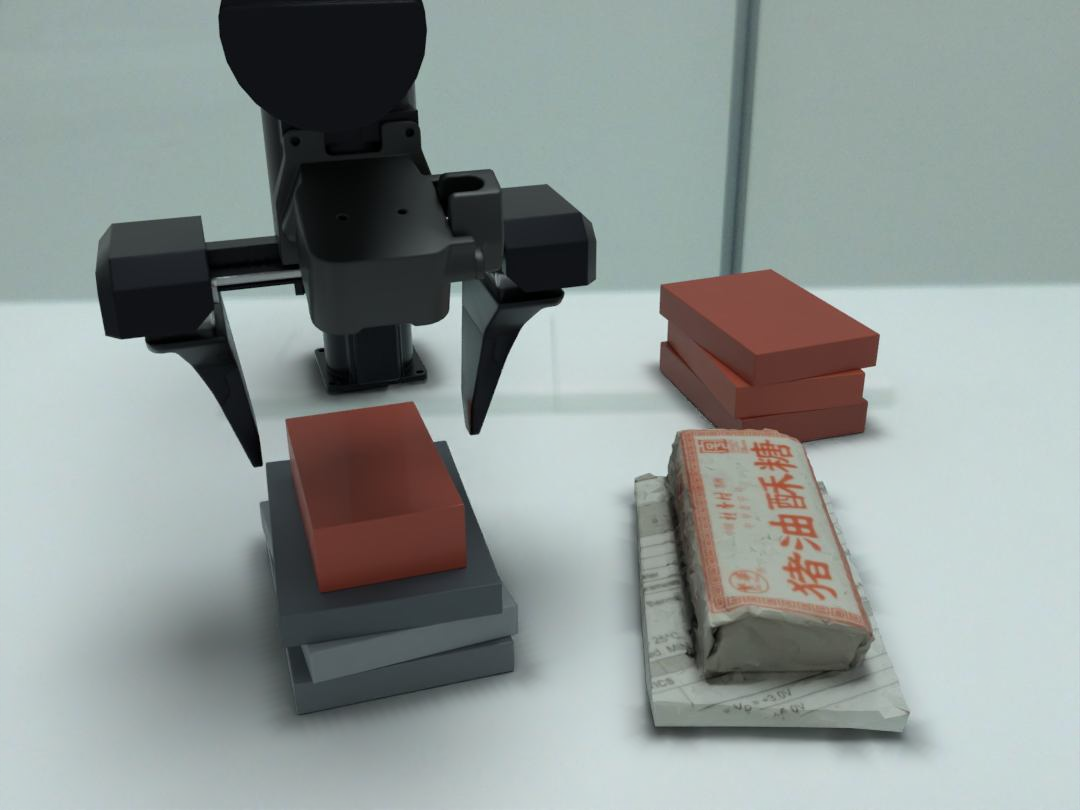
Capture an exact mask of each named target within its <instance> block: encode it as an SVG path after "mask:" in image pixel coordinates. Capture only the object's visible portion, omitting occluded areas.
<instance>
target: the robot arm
mask: <svg viewBox="0 0 1080 810" xmlns="http://www.w3.org/2000/svg"><path fill="white" fill-rule="evenodd" d="M217 15H218V16H217V19H218V35H219V40H220V43H221V47H222V50H223V51H222V52H223V55H224V58H225V62H226V64H227V65H228V68H229V69H230V71H231V73H232V75H233V76H234V78H235V80H236V82H237V84H238V85H239V86H240V88H241V89H242V90H243V91H244V92H245V94H247V96H248V97H249V98H250V99H251V100H252V101H253V102H254V104H255V105H256V106H258V107H259V108H260V116H261V125H262V132H263V143H264V153H265V161H266V168H267V169H266V170H267V177H268V187H269V195H270V206H271V213H272V221H273V232H274V235H268V236H267V235H266V236H256V237H246V238H236V239H226V240H225V239H224V240H214V241H206V239H205V232H204V226H203V219H202V215H189V216H179V217H169V218H158V219H157V218H156V219H146V220H136V221H123V222H113V223H111V224H110V225H109V226H108V228H106V230H105V232H104V233H103V234H102V235H101V237H100V238H99V239H98V243H97V253H96V261H95V270H94V275H95V284H96V294H97V299H98V303H99V309H100V314H101V315H100V316H101V320H102V325H103V330H104V336H105V337H108V338H112V339H116V340H117V339H118V340H121V341H122V340H130V339H139V338H144V343H145V347H146V349H147V350H148V351H149V352H151V353H153V354H158V355H159V354H161V355H162V354H176V355H178V356H179V357H180V358H182V360H184V361H185V362H186V363H188V365H190V367H192V369H194V371H195V372H196V374H198V376H199V377H200V378H201V380H202V381H203V382H204V384H205V385H206V386H207V388H208V389H209V391H210V392H211V394H212V395H213V396H214V398H215V400H216V402H217V403H218V406H219V407H220V409H221V411H222V413H223V415H224V416H225V418H226V420H227V422H228V424H229V425H230V427H231V429H232V432H233V433H234V435H235V437H236V438H237V440H238V442H239V444H240V446H241V448H242V449H243V451H244V453H245V455H246V457H247V458H248V460H249V463H250V464H251V466H252V467H253V468H254V469H255V468H262V467H263V466H264V462H263V454H262V453H263V452H262V445H261V439H260V438H261V437H260V433H259V427H258V423H257V418H256V415H255V411H254V407H253V404H252V399H251V396H250V393H249V389H248V386H247V382H246V379H245V378H246V377H245V374H244V372H243V368H242V364H241V360H240V356H239V354H238V350H237V346H236V342H235V338H234V335H233V331H232V328H231V323H230V321H229V318H228V317H229V316H228V314H227V310H226V306H225V303H224V299H223V296H222V292H231V291H239V290H248V289H258V288H267V287H277V286H285V285H286V286H287V285H293V286H294V294H295V296H297V297H298V296H305V297H306V300H307V301H306V302H307V306H308V313H309V317H310V320H311V323H312V325H313V326H314V327H315V328H316V329H318V330H319V331H321V332H322V337H323V339H322V340H323V347H318V348H316V349H314V358H315V360H316V361H315V362H316V364H317V366H318V367H317V368H318V369H319V372H320V375H321V379H322V382H323V384H324V387H325V391H326V392H328V393H340V392H349V391H355V390H363V389H371V388H377V387H378V388H380V387H387V386H393V385H401V384H408V383H416V382H423V381H425V380H427V379H428V378H429V377H428V376H429V375H428V369H427V368H426V366H425V364H424V361H422V359H421V357H420V355H419V353H418V351H417V349H416V348H415V346H414V344H413V331H412V326H414V327H424V326H429V325H433V324H436V323H439V322H441V321H442V320H444V319H445V318H446V317H447V316H448V314H449V312H450V307H451V305H450V304H451V288H452V286H451V285H452V284H453V283H461V355H460V357H461V363H460V365H461V366H460V367H461V368H460V369H461V371H460V373H461V374H460V382H461V383H460V391H461V392H460V393H461V402H462V410H463V412H462V413H463V420H464V426H465V429H466V430H467V432H468V434H469V436H477V435H480V433H481V430H482V428H483V425H484V423H485V421H486V420H485V419H486V417H487V414H488V411H489V408H490V406H491V403H492V401H493V398H494V395H495V392H496V389H497V386H498V383H499V380H500V378H501V375H502V372H503V369H504V367H505V365H506V362H507V359H508V356H509V354H510V352H511V350H512V347H513V346H514V344H515V342H516V341H517V338H518V336H519V334H520V332H521V330H522V329H523V327H524V326H525V325H526V324H527V323H528V322H529V321H530V320H531V319H532V318H533V317H534V316H535V315H536V314H538V313H539V312H540V311H541V310H543V309H546V308H553V307H557V306H559V305H560V304H562V302H563V300H564V297H565V293H566V292H565V291H564V289H570V288H577V287H578V288H579V287H586V286H589V285H591V284H592V283H593V282H595V281H596V280H597V249H598V248H597V247H598V245H597V244H598V241H597V237H596V234H595V230H594V225H593V223H592V222H591V220H590V219H589V218H588V217H586V216H585V214H584V213H582V212H581V211H580V210H579V209H578V208H577V207H575V206H574V205H573V204H572V203H571V202H569V201H568V200H567V199H566V198H565V197H563V195H561V194H560V193H559V192H557V191H556V190H555V189H554V188H553V187H551V185H549V184H548V183H543V184H532V185H522V186H521V185H520V186H510V187H508V186H507V187H501V184H500V182H499V180H498V178H497V176H496V174H495V171H494V170H493V169H491V168H484V169H472V170H461V171H449V172H443V173H436V174H432V172H431V169H430V166H429V164H428V161H427V159H426V156H425V153H424V151H423V148H422V135H421V134H422V133H421V127H420V123H419V122H420V121H419V110H418V109H417V93H416V80H417V78H418V76H419V73H420V70H421V68H422V65H423V61H424V59H425V56H426V46H427V35H428V24H427V16H426V15H427V14H426V9H425V4H424V2H423V0H220V4H219V9H218V14H217Z"/></svg>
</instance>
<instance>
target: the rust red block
mask: <svg viewBox="0 0 1080 810" xmlns="http://www.w3.org/2000/svg"><path fill="white" fill-rule="evenodd" d="M284 422H285V432H286V439H287V440H286V441H287V448H288V457H289V460H290V466H291V474H292V479H293V483H294V487H295V491H296V496H297V500H298V504H299V508H300V512H301V517H302V521H303V525H304V529H305V533H306V538H307V542H308V546H309V550H310V554H311V559H312V563H313V567H314V571H315V575H316V580H317V584H318V588H319V592H320V593H325V592H330V591H336V590H341V589H347V588H353V587H358V586H364V585H369V584H375V583H380V582H386V581H392V580H397V579H403V578H408V577H414V576H419V575H425V574H431V573H436V572H442V571H447V570H453V569H459V568H464V567H467V555H466V532H465V509H464V503H463V501H462V499H461V497H460V495H459V493H458V491H457V489H456V487H455V485H454V483H453V481H452V479H451V477H450V475H449V473H448V471H447V469H446V467H445V465H444V462H443V460H442V458H441V456H440V454H439V452H438V450H437V448H436V446H435V444H434V442H435V441H434V440H433V438H432V436H431V434H430V432H429V430H428V428H427V425H426V423H425V421H424V419H423V418H422V415H421V413H420V412H419V410H418V407H417V405H416V403H415V401H414V400H413V401H404V402H397V403H389V404H383V405H375V406H368V407H360V408H354V409H353V408H352V409H347V410H339V411H331V412H325V413H317V414H311V415H302V416H296V417H288V418H285V420H284Z"/></svg>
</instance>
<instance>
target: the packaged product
mask: <svg viewBox="0 0 1080 810" xmlns="http://www.w3.org/2000/svg"><path fill="white" fill-rule="evenodd" d="M633 483H634V485H633V495H634V501H635V505H636V519H637V521H636V524H637V525H636V526H637V529H636V530H637V550H638V552H637V553H638V561H639V563H638V564H639V594H640V612H641V624H642V625H641V626H642V640H643V652H644V654H643V655H644V667H645V681H646V689H647V695H648V700H649V703H650V708H651V713H652V714H651V715H652V719H653V724H654V727H761V728H763V727H766V728H769V727H770V728H831V729H833V728H834V729H835V728H836V729H837V728H839V729H840V728H841V729H859V730H872V731H883V732H884V731H885V732H893V733H894V732H895V733H903V732H904V729H905V728H906V724H907V722H908V719H909V717H910V713H911V711H910V709H909V706H908V704H907V703H906V700H905V697H904V694H903V691H902V689H901V685H900V680H899V677H898V674H897V672H896V670H895V668H894V667H895V666H894V665H893V662H892V661H891V658H890V656H889V655H888V652H887V649H886V646H885V643H884V641H883V638H882V635H881V632H880V628H879V626H878V623H877V621H876V617H875V615H874V612H873V610H872V607H871V603H870V601H869V599H868V596H867V594H866V591H865V588H864V586H863V581H862V579H861V576H860V574H859V571H858V568H856V566H855V565H854V564H853V563H852V561H851V551H850V549H849V546H848V544H847V541H846V538H845V536H844V532H843V531H842V529H841V526H840V524H839V522H838V518H837V515H836V512H835V509H834V507H833V503H832V502H831V498H830V496H829V493H828V489H827V488H826V485H825V484H824V481H823V480H820V481H818V480H817V479H816V475H815V472H814V467H813V466H812V464H811V461H810V458H809V457H808V452H807V450H806V448H805V446H804V445H803V444H802V442H799V441H798V440H797V439H796V438H793V437H790V436H788V435H786V434H781V433H779V432H778V431H777V430H772V429H766V428H765V429H763V430H754V429H745V430H735V429H730V430H727V429H718V428H706V429H704V428H703V429H691V428H689V429H687V428H686V429H681V430H678V431H676V433H675V437H674V441H673V443H672V444H671V453H670V455H669V458H668V464H667V474H666V475H665V476H663V475H656V474H655V475H654V474H652V473H651V472H647V473H644V474H642V475H639V476H637V477H634V482H633Z"/></svg>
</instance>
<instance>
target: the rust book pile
mask: <svg viewBox="0 0 1080 810" xmlns="http://www.w3.org/2000/svg"><path fill="white" fill-rule="evenodd" d="M659 287H660V288H659V309H658V310H659V312H658V313H659V315H660V316H661V317H663V318H664V319H666V320H667V335H666V337H667V339H666V340H664V341H661V342H659V343H660V344H659V345H660V346H659V347H660V348H659V371H660V372H661V373H662V374H663V375H664V376H665V377H666V378H667V379H668V380H669V381H670V382H671V383H672V384H673V385H674V386H675V387H676V388H677V389H678V390H679V391H680V392H681V393H682V394H683V395H684V396H685V398H687V399H688V401H690V402H691V403H692V404H693V405H694V406H695V407H696V408H697V409H698V410H699V411H700V412H701V413H702V414H703V415H704V416H705V417H706V418H707V419H708V421H710V422H711V423H712V425H714V426H715V427H716V429H727V430H730V429H735V430H745V429H754V430H763V429H765V428H766V429H772V430H777V431H778V432H779V433H781V434H786V435H788V436H790V437H793V438H796V439H797V440H798V441H799V442H800V443H803V442H808V441H815V440H821V439H827V438H834V437H839V436H845V435H851V434H857V433H864V432H865V431H866V422H867V416H868V415H867V414H868V408H869V401H868V400H867V399H866V398H864V397H863V396H864V388H865V381H866V372H865V371H864V370H863V369H867V368H873V367H876V366H877V361H878V353H879V345H880V338H881V334H880V333H879V332H877V331H876V330H874V329H872V328H870V327H869V326H867V325H865V324H864V323H862V322H860V321H859V320H857V319H855V318H854V317H852V316H851V315H848V314H847V313H845V312H844V311H842V310H840V309H838V308H837V307H835V306H833V305H832V304H830V303H828V302H827V301H825V300H824V299H822V298H820V297H819V296H817V295H815V294H813V293H812V292H810V291H809V290H807V289H805V288H804V287H801V286H800V285H799V284H796V282H794V281H792V280H790V279H788V278H787V277H786V276H783V275H782V274H780V273H778V272H777V271H775V270H773V269H772V268H767V269H762V270H755V271H747V272H746V271H745V272H740V273H732V274H725V275H719V276H711V277H704V278H697V279H690V280H682V281H675V282H668V283H661V284H660V286H659Z"/></svg>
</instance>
